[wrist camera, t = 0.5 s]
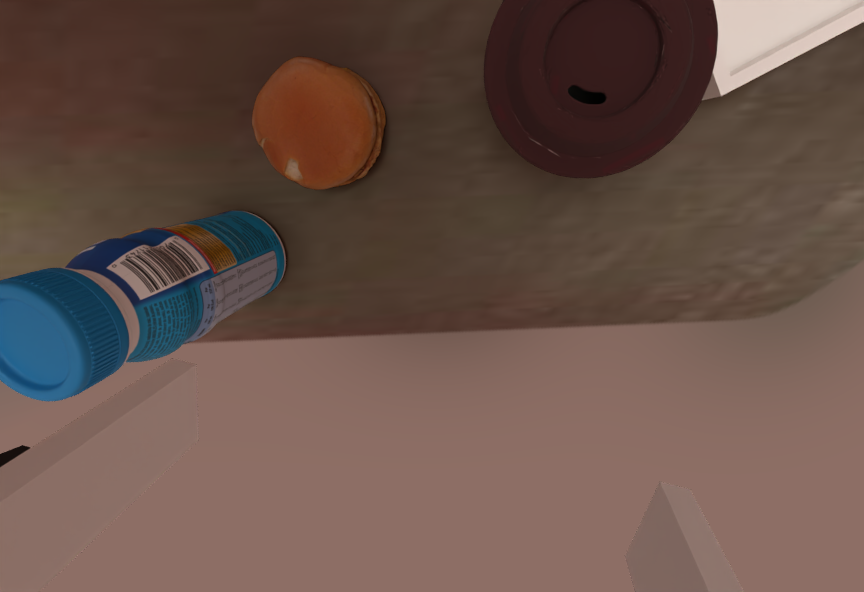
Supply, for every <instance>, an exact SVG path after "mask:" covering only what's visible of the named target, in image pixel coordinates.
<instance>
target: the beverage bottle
mask: <svg viewBox="0 0 864 592" xmlns="http://www.w3.org/2000/svg"><path fill="white" fill-rule="evenodd" d="M285 267H286V256H285V250H284V247H283V244H282V242H281V240H280V238H279V236H278V234H277V233H276V231H275V230H274V229H273V228H272V227H271V226H270V225H269V224H268V223H267V222H266V221H265V220H263V219H262V218H260V217H258V216H257V215H254V214H252V213H249V212H245V211H228V212H224V213H220V214H217V215H215V216H212V217H208V218H203V219H199V220H194V221H190V222H186V223H181V224H177V225H172V226H168V227H163V228H146V229H141V230H138V231H134V232H131V233H129V234H127V235H125V236H123V237H121V238H115V239H107V240H103V241H100V242H98V243H95V244H93V245H92V246H90V247H88V248H86V249H85V250H83V251H82V252H81V253H79V254H78V255H77V256H76V257H75V258H73V259H72V260H71V261H70V263H69V264H68V265H67V266H66V267H65V268H48V269H43V270H39V271H35V272H30V273H27V274H23V275H19V276H15V277H12V278H8V279H4V280H1V281H0V380H1V381H2V382H3V383H5V384H6V385H7V386H9V387H10V388H12V389H13V390H15V391H16V392H18V393H20V394H22V395H25V396H27V397H30V398H33V399H36V400H41V401H58V400H63V399H66V398H68V397H72V396H73V395H74V396H75V395H77V394H79V393H81V392H82V391H84V390H86V389H88V388H89V387H91V386H93V385H94V384H96V383H98V382H100V381H102V380H103V379H105V378H106V377H108V376H109V375H111V374H113V373H114V372H116V371H117V370H118V369H119V368H120V367H121V366H122V365H123V364H124V363H125V362H142V361H148V360H153V359H157V358H160V357H163V356H166V355H168V354H170V353H172V352H174V351H175V350H177V349H178V348H179V347H180V346H181V345H182V344H186V343H189V342H192V341H194V340H196V339H198V338H200V337H202V336H203V335H205V334H206V333H208V332H209V331H210V330H211V329H212V328H213V327H214V326H215V324H217V323H218V322H220V321H221V320H223V319H225V318H226V317H228V316H229V315H231V314H233V313H234V312H236V311H237V310H239V309H241V308H242V307H244V306H245V305H247V304H249V303H250V302H252V301H254V300H255V299H258V298H260V297H262V296H264V295H266V294H268V293H269V292H271V291H272V290H273V289H275V288H276V287H277V285H278V284H279V283H280V281H281V280H282V277H283V275H284V272H285Z"/></svg>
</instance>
